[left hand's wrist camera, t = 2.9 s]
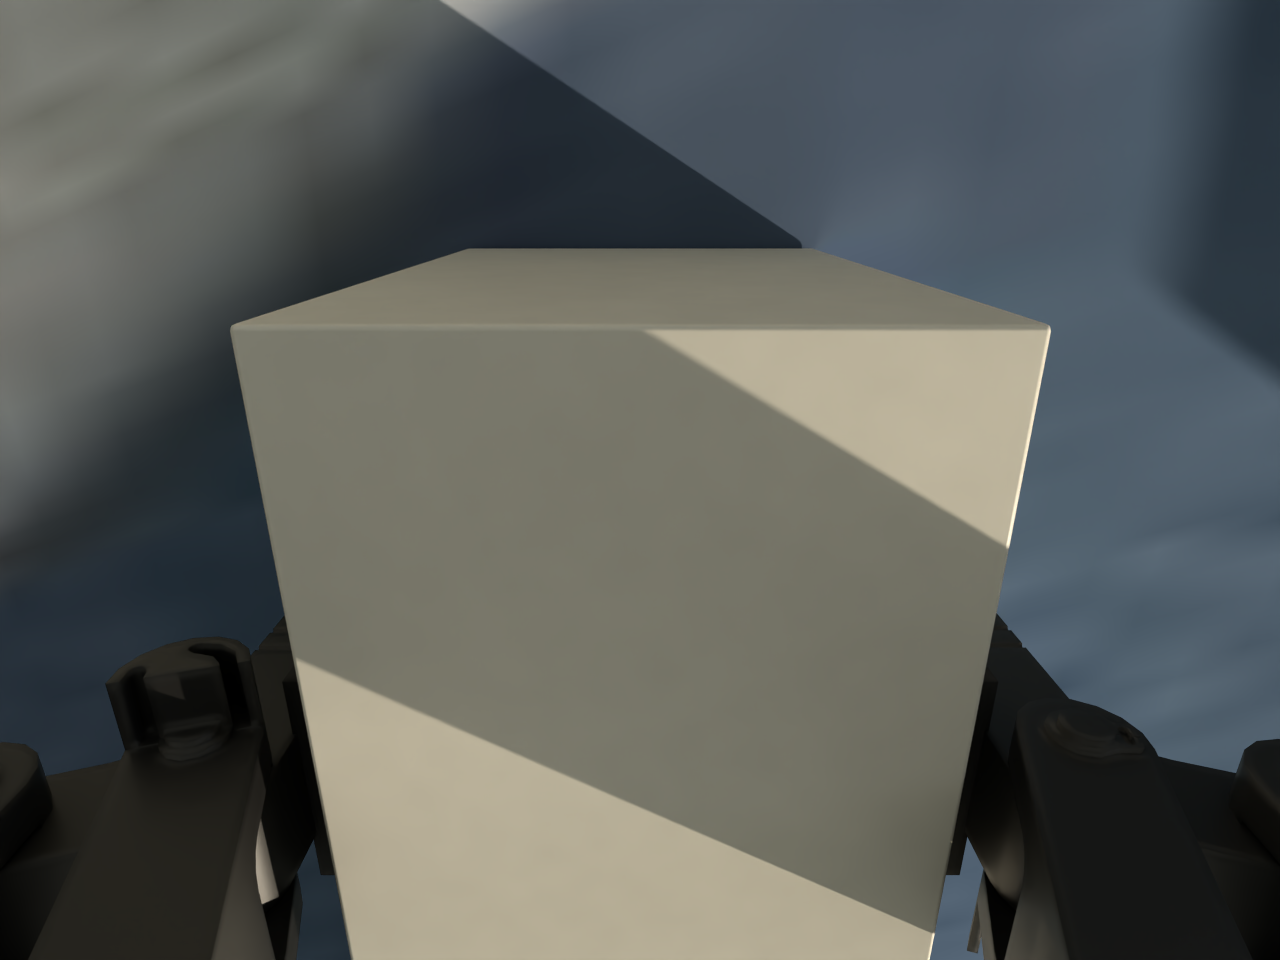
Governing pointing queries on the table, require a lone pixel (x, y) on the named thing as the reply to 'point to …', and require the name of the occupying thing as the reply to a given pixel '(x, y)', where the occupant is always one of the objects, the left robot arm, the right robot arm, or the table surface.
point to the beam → (640, 594)
